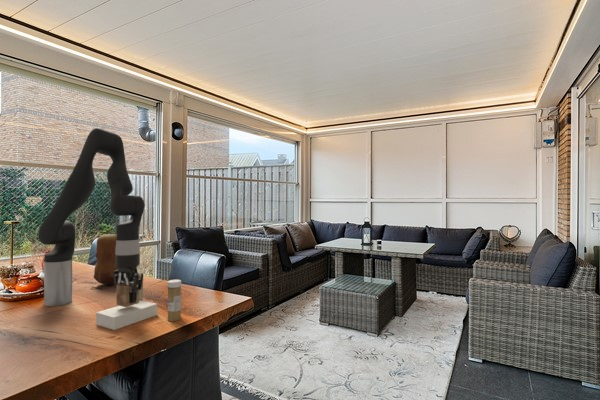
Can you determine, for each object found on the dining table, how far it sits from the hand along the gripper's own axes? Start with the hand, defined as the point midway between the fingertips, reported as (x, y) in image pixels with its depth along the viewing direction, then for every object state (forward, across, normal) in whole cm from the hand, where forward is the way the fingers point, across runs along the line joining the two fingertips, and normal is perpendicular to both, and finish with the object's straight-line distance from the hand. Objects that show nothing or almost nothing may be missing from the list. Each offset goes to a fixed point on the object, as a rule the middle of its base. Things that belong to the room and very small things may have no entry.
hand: (127, 301), depth 116 cm
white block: (+6, 0, 0) cm, 6 cm away
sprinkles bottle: (+6, -14, -8) cm, 17 cm away
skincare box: (+7, +11, -10) cm, 16 cm away
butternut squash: (+7, +53, -26) cm, 59 cm away
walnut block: (+1, 0, 0) cm, 1 cm away
